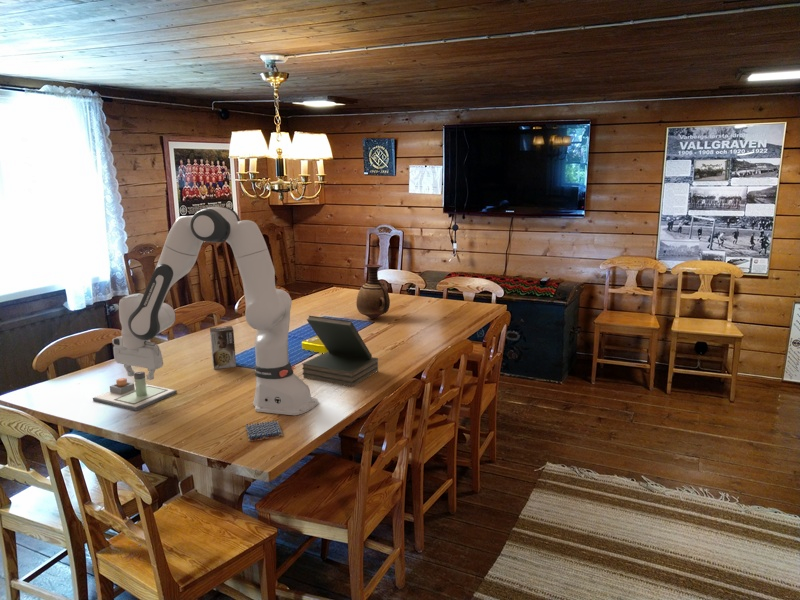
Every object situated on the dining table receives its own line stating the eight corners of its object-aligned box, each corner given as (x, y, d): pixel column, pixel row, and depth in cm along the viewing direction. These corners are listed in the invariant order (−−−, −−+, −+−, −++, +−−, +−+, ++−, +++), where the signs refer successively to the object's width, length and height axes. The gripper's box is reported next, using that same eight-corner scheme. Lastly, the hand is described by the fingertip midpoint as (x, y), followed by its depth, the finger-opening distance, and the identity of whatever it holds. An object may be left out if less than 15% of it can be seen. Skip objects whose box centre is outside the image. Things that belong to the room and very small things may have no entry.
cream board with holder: (176, 392, 209) (176, 383, 208) (135, 410, 193) (134, 401, 192) (135, 384, 218) (134, 375, 217) (93, 400, 202) (92, 391, 201)
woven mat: (278, 424, 184) (277, 418, 183) (283, 438, 174) (283, 432, 174) (244, 429, 180) (244, 423, 180) (248, 443, 170) (248, 437, 170)
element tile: (327, 355, 253) (326, 345, 252) (300, 350, 261) (299, 340, 260) (346, 347, 266) (345, 337, 265) (320, 342, 273) (319, 332, 272)
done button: (129, 384, 208) (128, 379, 208) (121, 387, 205) (120, 382, 205) (122, 383, 210) (122, 377, 209) (114, 386, 207) (114, 380, 206)
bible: (378, 372, 231) (377, 312, 226) (352, 388, 214) (350, 323, 209) (331, 364, 242) (329, 306, 236) (302, 378, 225) (300, 316, 220)
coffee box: (234, 362, 243) (232, 325, 240) (236, 366, 237) (234, 329, 234) (212, 364, 240) (209, 327, 237) (213, 369, 234) (210, 331, 231)
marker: (149, 393, 205) (146, 372, 203) (141, 397, 202) (138, 375, 200) (142, 392, 206) (139, 371, 204) (134, 395, 203) (131, 374, 201)
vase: (353, 315, 324) (352, 263, 318) (384, 313, 329) (383, 261, 323) (362, 324, 304) (361, 268, 298) (394, 322, 309) (394, 267, 303)
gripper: (165, 340, 198) (169, 378, 201) (123, 334, 207) (128, 371, 210) (150, 345, 192) (155, 384, 195) (108, 339, 201) (113, 376, 204)
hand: (140, 377), depth 203 cm, fingers open, 8 cm apart
